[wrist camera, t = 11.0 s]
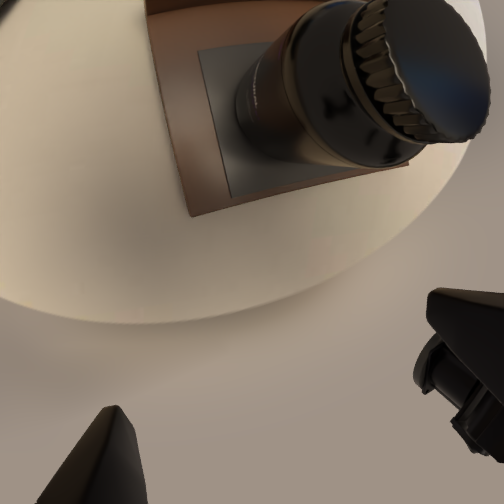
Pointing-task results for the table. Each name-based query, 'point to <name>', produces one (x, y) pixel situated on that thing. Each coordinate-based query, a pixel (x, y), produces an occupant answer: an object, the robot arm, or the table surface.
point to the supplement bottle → (366, 85)
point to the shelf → (223, 98)
